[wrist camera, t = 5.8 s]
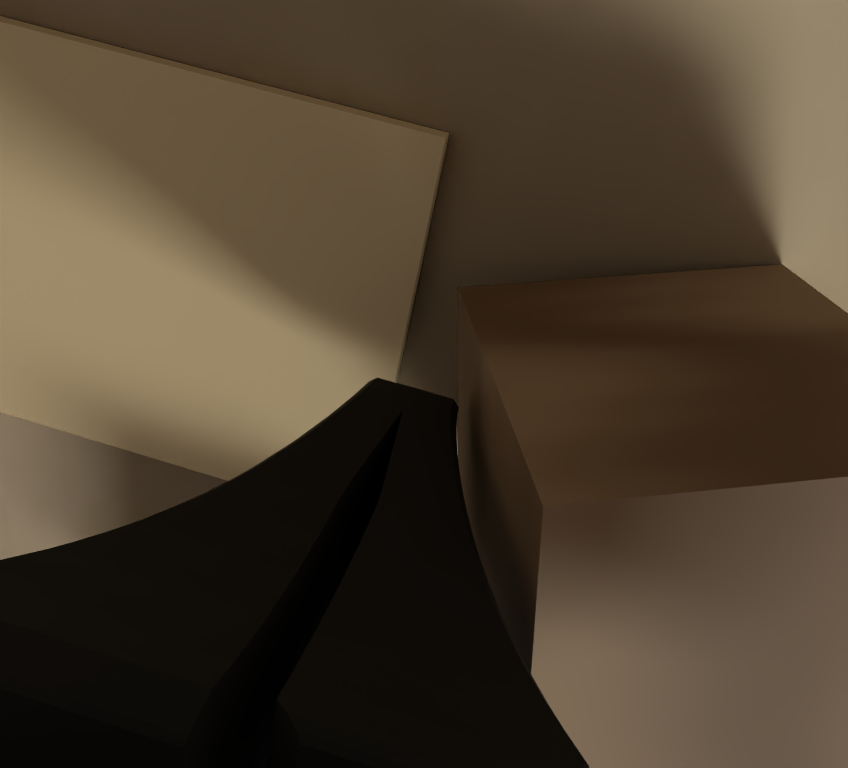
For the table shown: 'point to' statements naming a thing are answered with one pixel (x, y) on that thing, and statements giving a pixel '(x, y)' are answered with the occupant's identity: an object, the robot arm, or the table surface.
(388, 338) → the letter
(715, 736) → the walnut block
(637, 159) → the table surface
